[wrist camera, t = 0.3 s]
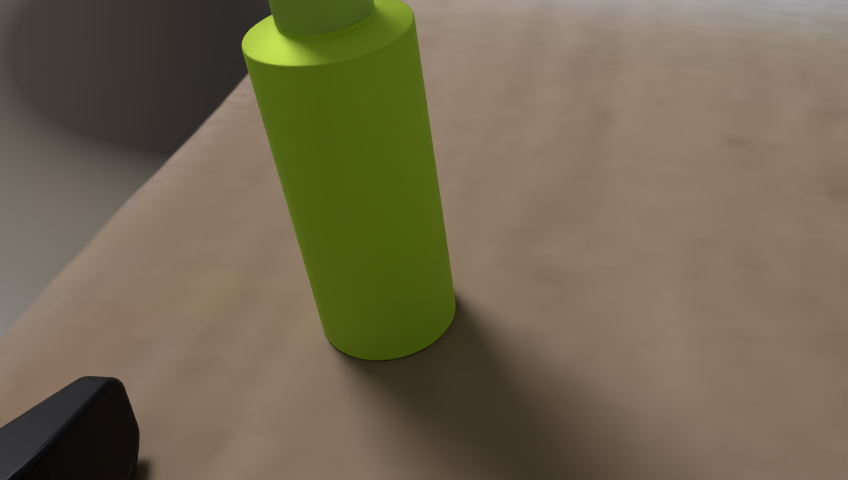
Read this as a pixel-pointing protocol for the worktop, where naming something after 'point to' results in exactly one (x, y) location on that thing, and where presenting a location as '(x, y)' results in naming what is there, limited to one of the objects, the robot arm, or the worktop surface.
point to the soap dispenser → (357, 168)
